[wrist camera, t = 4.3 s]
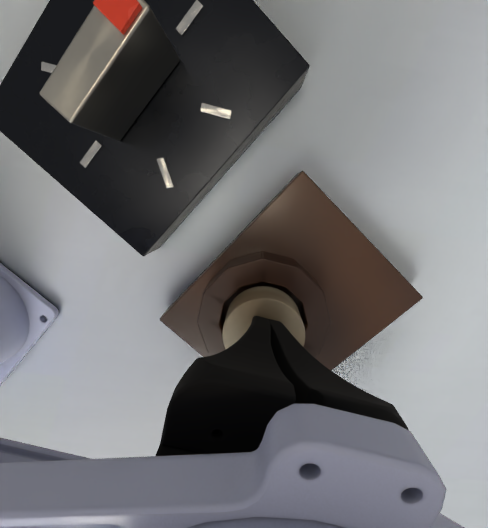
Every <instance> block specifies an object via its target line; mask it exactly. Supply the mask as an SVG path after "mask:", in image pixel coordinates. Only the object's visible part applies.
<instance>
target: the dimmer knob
mask: <svg viewBox="0 0 488 528" xmlns="http://www.w3.org/2000/svg"><path fill="white" fill-rule="evenodd" d="M93 4H94V7H93V8H92V10H91V11H90V13H89V15H88V16H87V18H86V19H85V21H84V22H83V24H82V26H81V27H80V29H79V30H78V32H77V34H76V35H75V37H74V38H73V40H72V42H71V43H70V45H69V46H68V48H67V50H66V51H65V53H64V54H63V56H62V58H61V59H60V61H59V62H58V64H57V65H56V67H55V69H54V70H53V72H52V73H51V75H50V77H49V78H48V80H47V81H46V83H45V85H44V86H43V88H42V89H41V91H40V95H41V96H42V97H43V98H44V99H45V100H46V101H47V102H48V103H49V104H50V105H51V106H52V107H53V108H55V109H56V110H57V111H58V112H59V113H60V114H61V115H62V116H63V117H64V118H65V119H66V120H68V121H69V122H70V123H72V124H75V125H77V126H80V127H83V128H85V129H88V130H91V131H93V132H96V133H99V134H101V135H104V136H107V137H109V138H112V139H115V140H117V141H120V140H121V139H122V137H123V136H124V135H125V133H126V132H127V131H128V129H129V128H130V127H131V125H132V124H133V123H134V121H135V120H136V119H137V117H138V116H139V115H140V113H141V112H142V111H143V109H144V108H145V106H146V105H147V104H148V102H149V101H150V100H151V98H152V97H153V96H154V94H155V93H156V92H157V90H158V89H159V88H160V86H161V85H162V84H163V82H164V81H165V80H166V78H167V77H168V76H169V74H170V73H171V72H172V70H173V69H174V67H175V66H176V65H177V63H178V62H179V60H180V58H179V56H178V55H177V53H176V51H175V49H174V48H173V46H172V44H171V43H170V41H169V39H168V37H167V36H166V34H165V32H164V30H163V29H162V27H161V25H160V23H159V22H158V20H157V18H156V17H155V15H154V13H153V11H152V10H151V8H150V6H149V5H148V4H147V3H146V2H145V1H144V0H94V2H93Z"/></svg>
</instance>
